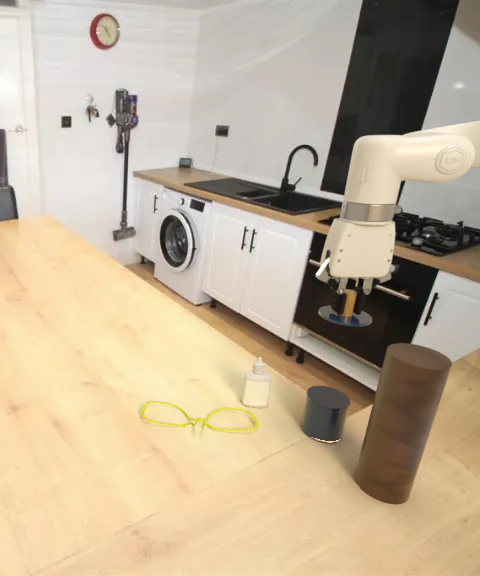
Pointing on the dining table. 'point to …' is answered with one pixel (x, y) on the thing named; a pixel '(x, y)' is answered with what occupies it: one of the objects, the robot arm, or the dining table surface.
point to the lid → (346, 313)
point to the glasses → (200, 417)
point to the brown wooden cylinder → (401, 420)
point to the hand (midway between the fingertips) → (345, 310)
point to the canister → (325, 413)
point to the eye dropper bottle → (256, 386)
